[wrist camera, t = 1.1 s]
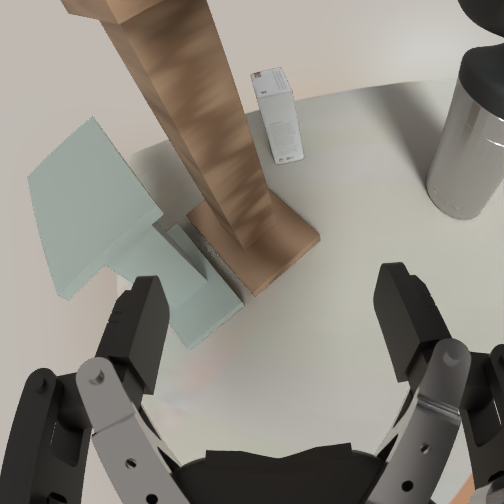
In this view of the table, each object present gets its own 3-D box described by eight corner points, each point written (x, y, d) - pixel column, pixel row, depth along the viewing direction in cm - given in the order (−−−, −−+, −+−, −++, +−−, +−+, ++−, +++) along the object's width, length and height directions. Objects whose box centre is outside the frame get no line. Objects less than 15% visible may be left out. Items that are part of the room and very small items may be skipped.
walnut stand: (247, 175, 43) (158, -52, 14) (319, 240, 36) (280, -69, 8) (190, 220, 42) (43, 12, 13) (255, 296, 35) (67, 18, 7)
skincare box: (305, 159, 42) (296, 90, 31) (274, 166, 42) (256, 99, 32) (295, 130, 45) (284, 65, 34) (266, 137, 45) (249, 72, 34)
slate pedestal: (181, 227, 41) (92, 116, 23) (244, 305, 35) (156, 204, 16) (136, 266, 40) (27, 176, 22) (191, 349, 34) (57, 295, 16)
